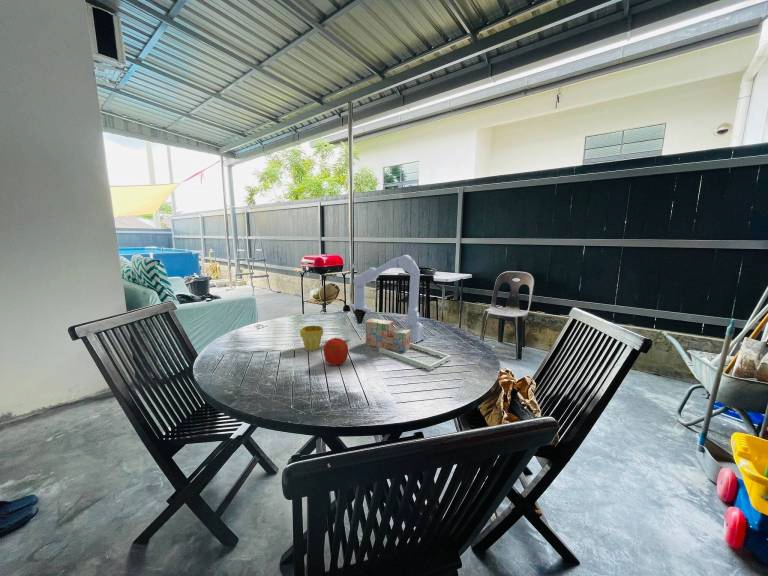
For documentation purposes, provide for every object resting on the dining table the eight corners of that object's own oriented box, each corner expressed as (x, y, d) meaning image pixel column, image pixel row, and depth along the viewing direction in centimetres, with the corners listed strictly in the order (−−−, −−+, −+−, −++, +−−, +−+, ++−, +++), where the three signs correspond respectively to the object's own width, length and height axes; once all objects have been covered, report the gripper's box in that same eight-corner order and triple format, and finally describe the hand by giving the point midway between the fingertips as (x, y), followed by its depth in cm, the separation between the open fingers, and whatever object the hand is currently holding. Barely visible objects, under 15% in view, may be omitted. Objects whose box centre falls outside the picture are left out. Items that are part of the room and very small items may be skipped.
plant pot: (310, 354, 140) (310, 333, 138) (296, 348, 146) (295, 328, 144) (327, 347, 148) (327, 328, 146) (313, 342, 154) (313, 324, 153)
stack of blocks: (410, 348, 149) (411, 323, 147) (405, 352, 143) (405, 327, 141) (371, 341, 158) (371, 317, 156) (365, 344, 153) (365, 320, 151)
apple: (324, 369, 124) (324, 342, 122) (322, 360, 134) (322, 334, 132) (349, 367, 127) (349, 340, 125) (346, 357, 136) (345, 332, 134)
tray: (400, 343, 155) (400, 339, 155) (450, 359, 135) (451, 355, 135) (378, 351, 144) (378, 347, 143) (430, 370, 124) (430, 366, 124)
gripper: (345, 297, 162) (345, 322, 165) (363, 301, 152) (363, 328, 155) (355, 295, 167) (355, 319, 170) (374, 299, 157) (373, 325, 160)
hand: (359, 323), depth 162 cm, fingers closed
